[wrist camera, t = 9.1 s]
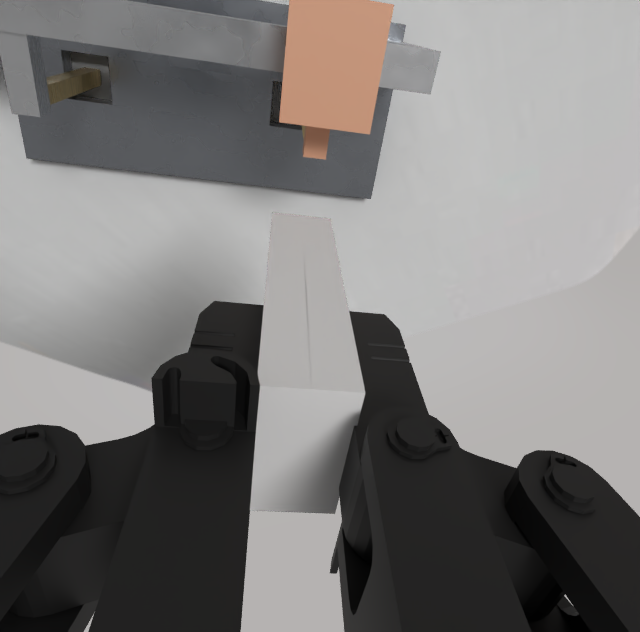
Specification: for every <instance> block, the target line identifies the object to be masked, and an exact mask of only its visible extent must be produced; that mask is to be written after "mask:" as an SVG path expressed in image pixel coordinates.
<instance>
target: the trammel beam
mask: <svg viewBox="0 0 640 632" xmlns="http://www.w3.org/2000/svg"><path fill="white" fill-rule="evenodd" d="M286 35H287V26H283V25H277V24H271V23H265V22H259V21H252V20H246V19H240V18H234V17H228V16H221V15H215V14H209V13H203V12H196V11H190V10H184V9H178V8H172V7H165V6H159V5H153V4H147V3H140V2H134V1H128V0H0V56H1V61H2V66H3V71H4V76H5V81H6V86H7V91H8V96H9V101H10V106H11V111H12V114H19V115H27V116H35V117H42V116H45V115H47V114H49V113H52V111H51V104H54V103H56V102H59V101H62V100H64V99H67V98H69V97H72V96H75V95H77V94H80V93H82V92H85V91H88V90H90V89H93V88H95V87H98V86H101V77H100V69H93V68H86V67H84V68H80V69H76V70H73V71H69V72H65V73H61V74H58V75H54V76H50V77H46V73H45V67H44V61H43V55H42V48H41V42H40V37H47V38H53V39H60V40H67V41H73V42H80V43H87V44H94V45H100V46H107V47H114V48H121V49H127V50H134V51H141V52H148V53H154V54H161V55H168V56H175V57H181V58H188V59H195V60H202V61H208V62H215V63H222V64H228V65H235V66H242V67H249V68H255V69H262V70H269V71H276V72H282V73H283V70H284V58H285V47H286ZM440 53H441V52H440V51H436V50H432V49H428V48H424V47H420V46H416V45H412V44H408V43H404V42H399V41H393V40H387V45H386V50H385V56H384V61H383V66H382V72H381V77H380V83H379V87H383V88H390V89H397V90H404V91H410V92H417V93H424V94H431V90H432V86H433V82H434V78H435V74H436V69H437V65H438V61H439V57H440Z"/></svg>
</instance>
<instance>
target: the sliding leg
mask: <svg viewBox="0 0 640 632" xmlns="http://www.w3.org/2000/svg"><path fill="white" fill-rule="evenodd" d="M393 7H394V5H392V4H386V3H381V2H375V1H369V0H289V11H288V23H287V35H286V47H285V58H284V70H283V82H282V93H281V105H280V117H279V122H281V123H289V124H296V125H302V132H303V141H304V143H303V157H309V158H317V159H325V160H326V155H327V147H328V140H329V133H330V129H333V130H340V131H348V132H355V133H362V134H370V131H371V126H372V120H373V115H374V109H375V104H376V99H377V93H378V88H379V83H380V77H381V72H382V66H383V61H384V56H385V50H386V45H387V40H388V34H389V29H390V24H391V18H392V13H393Z"/></svg>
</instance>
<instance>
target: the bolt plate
mask: <svg viewBox="0 0 640 632" xmlns="http://www.w3.org/2000/svg"><path fill="white" fill-rule="evenodd" d="M128 1H134V2H140V3H147V4H153V5H159V6H165V7H172V8H178V9H184V10H190V11H196V12H203V13H209V14H215V15H221V16H228V17H234V18H240V19H246V20H252V21H259V22H265V23H271V24H277V25H283V26H287V23H288V11H289V5H283V4H277V3H271V2H265V1H259V0H128ZM405 27H406V25H404V24H398V23H392V22H391V24H390V29H389V34H388V40H393V41H399V42H403V37H404V32H405ZM40 42H41V48H42V55H43V61H44V67H45V73H46V77H50V76H54V75H58V74H61V73H65V72H69V71H72V63H71V55H70V51H73V52H80V53H87V54H94V55H100V56H107V57H108V61H109V72H110V82H111V93H112V101H111V100H104V99H96V98H89V97H82V96H76V95H75V96H72V97H69V98H67V99H64V100H62V101H59V102H56V103H54V104H51V111H52V113H49V114H47V115H45V116H42V117H35V116H27V115H19V114H18V117H19V122H20V127H21V132H22V137H23V142H24V147H25V152H26V158H28V159H36V160H45V161H53V162H62V163H70V164H79V165H87V166H96V167H104V168H113V169H121V170H130V171H138V172H147V173H155V174H164V175H172V176H181V177H189V178H198V179H206V180H215V181H223V182H232V183H240V184H248V185H257V186H265V187H274V188H282V189H291V190H299V191H308V192H316V193H325V194H333V195H342V196H350V197H359V198H367V199H371V196H372V191H373V186H374V181H375V176H376V171H377V166H378V161H379V156H380V151H381V146H382V141H383V136H384V131H385V126H386V121H387V116H388V111H389V106H390V101H391V96H392V91H393V89H390V88H383V87H379V88H378V93H377V99H376V104H375V109H374V115H373V120H372V126H371V131H370V134H362V133H355V132H348V131H340V130H333V129H330V133H329V140H328V147H327V155H326V160H325V159H317V158H309V157H303V143H304V141H303V132H302V126H296V125H289V124H282V123H274V122H270V117H271V104H272V91H273V81H279V82H283V73H282V72H276V71H269V70H262V69H255V68H249V67H242V66H235V65H228V64H222V63H215V62H208V61H202V60H195V59H188V58H181V57H175V56H168V55H161V54H154V53H148V52H141V51H134V50H127V49H121V48H114V47H107V46H100V45H94V44H87V43H80V42H73V41H67V40H60V39H53V38H47V37H40Z"/></svg>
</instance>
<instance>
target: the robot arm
mask: <svg viewBox="0 0 640 632" xmlns="http://www.w3.org/2000/svg"><path fill="white" fill-rule="evenodd" d="M152 391H153V405H154V420H155V424H154V425H153V426H151V427H150V428H148V429H146V430H144V431H142V432H140V433H138V434H136V435H133V436H129V437H126V438H122V439H118V440H112V441H108V442H102V443H98V444H92V445H87V446H85V445H84V444H83V442H82V441H81V440H80V438H79V437H78V435H77V434H76V433H74V432H72V431H69V430H67V429H65V428H63V427H61V426H50V425H33V426H28V427H22V428H16V429H13V430H11V431H8V432H6V433H3V434H1V435H0V632H84V630H85V628H86V626H87V625H88V623H89V621H90V619H91V617H92V616H93V614H94V616H93V620H92V623H91V626H90V629H89V632H240V630H241V618H242V605H243V592H244V578H245V565H246V553H247V539H248V527H249V514H250V511H275V512H305V513H330V514H331V513H332V514H335V511H336V507H337V503H338V500H339V496H340V505H341V514H342V523H341V527H340V531H339V535H338V538H337V542H336V546H335V549H334V553H333V557H332V561H331V569H330V573H337V570H338V567H339V571H340V583H341V596H342V607H343V618H344V630H345V632H640V517H639V516H638V515H637V514H636V512H635V511H634V510H633V509H632V508H631V507H630V506H629V505H628V504H627V503H626V502H625V501H624V500H623V499H622V497H621V496H620V495H619V494H618V493H617V492H616V491H615V490H614V489H613V488H612V487H611V486H610V485H609V483H608V482H607V481H606V480H604V479H603V478H602V477H601V476H600V475H599V474H598V473H596V472H595V471H594V470H593V469H592V468H590V467H589V466H587V465H586V464H584V463H582V462H580V461H578V460H577V459H575V458H573V457H571V456H568V455H565V454H562V453H558V452H555V451H540V450H538V451H534V452H532V453H529V454H527V455H525V456H524V457H523V459H522V461H521V462H520V464H519V466H518V467H517V468H514V467H510V466H508V465H504V464H501V463H498V462H495V461H492V460H489V459H485V458H483V457H479V456H477V455H474V454H472V453H469V452H467V451H465V450H463V449H461V448H460V447H459V445H458V442H457V441H456V439H455V437H454V436H453V434H452V433H451V431H450V429H448V428H447V427H446V426H445V425H444V424H442V423H441V422H440V421H439V420H437V418H435V417H433V416H431V415H429V414H428V411H427V408H426V405H425V402H424V399H423V397H422V394H421V391H420V388H419V385H418V382H417V380H416V376H415V373H414V371H413V368H412V365H411V363H409V356H408V353H407V350H406V349H405V345H404V342H403V339H402V336H401V333H400V330H399V329H398V328H397V327H396V326H395V325H394V324H393V322H392V321H391V320H390V319H389V318H388V317H387V316H386V315H384V314H373V313H362V312H351V311H349V308H348V303H347V298H346V293H345V288H344V283H343V278H342V273H341V268H340V263H339V258H338V253H337V248H336V243H335V238H334V233H333V228H332V223H331V219H328V218H319V217H311V216H302V215H293V214H284V213H275V212H272V219H271V230H270V241H269V252H268V263H267V274H266V285H265V296H264V305H253V304H242V303H231V302H220V301H214V302H213V303H212V304H210V305H209V306H208V307H207V308H206V309H205V310H204V311H203V312H201V313H200V315H199V318H198V321H197V325H196V328H195V333H194V335H193V338H192V341H191V346H190V348H189V351H188V353H185V354H181V355H178V356H175V357H173V358H172V359H170V360H169V361H167V362H165V363H164V364H162V365H161V366H160V367H159V369H158V370H157V371H156V373H155V374H154V376H153V377H152ZM565 594H566V595H567V597H568V599H569V600H570V601H571V603H572V604H573V606H572V605H571V603H570V602H569V601H568V600H567V599H566V598H565V597H564V595H565ZM94 612H95V613H94Z"/></svg>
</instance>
